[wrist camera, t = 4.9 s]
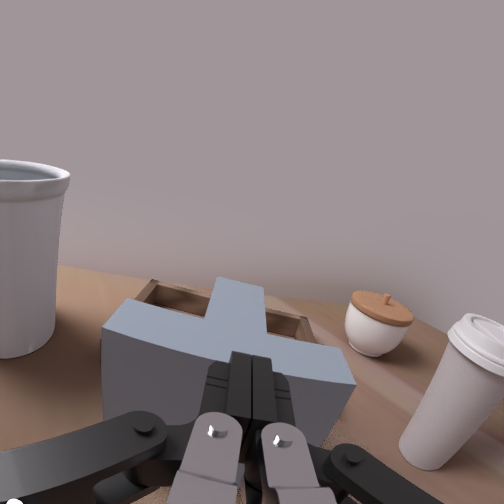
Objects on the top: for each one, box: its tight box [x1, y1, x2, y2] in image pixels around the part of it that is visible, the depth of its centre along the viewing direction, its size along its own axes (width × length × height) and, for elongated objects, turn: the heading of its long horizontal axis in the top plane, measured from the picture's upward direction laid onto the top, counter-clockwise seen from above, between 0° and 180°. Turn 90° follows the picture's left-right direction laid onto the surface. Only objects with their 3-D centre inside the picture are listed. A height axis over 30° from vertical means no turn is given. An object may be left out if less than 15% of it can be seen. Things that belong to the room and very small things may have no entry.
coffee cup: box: [399, 313, 504, 471], centre depth 22 cm, size 10×10×15 cm
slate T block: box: [101, 277, 356, 489], centre depth 22 cm, size 14×12×12 cm
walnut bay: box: [100, 279, 316, 364], centre depth 36 cm, size 23×18×3 cm
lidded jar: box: [345, 291, 414, 357], centre depth 45 cm, size 11×11×9 cm
